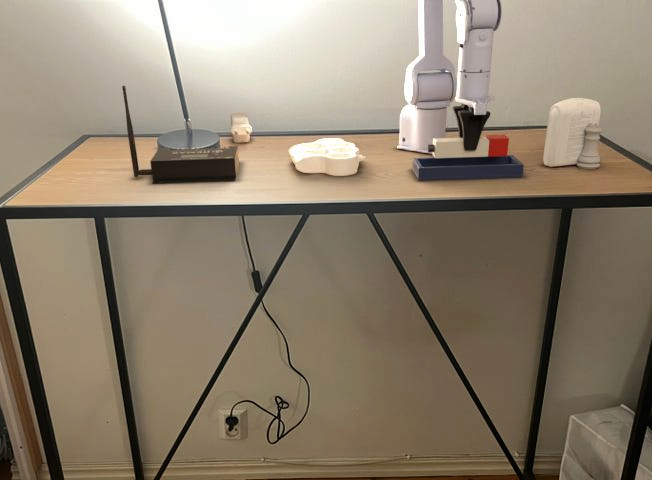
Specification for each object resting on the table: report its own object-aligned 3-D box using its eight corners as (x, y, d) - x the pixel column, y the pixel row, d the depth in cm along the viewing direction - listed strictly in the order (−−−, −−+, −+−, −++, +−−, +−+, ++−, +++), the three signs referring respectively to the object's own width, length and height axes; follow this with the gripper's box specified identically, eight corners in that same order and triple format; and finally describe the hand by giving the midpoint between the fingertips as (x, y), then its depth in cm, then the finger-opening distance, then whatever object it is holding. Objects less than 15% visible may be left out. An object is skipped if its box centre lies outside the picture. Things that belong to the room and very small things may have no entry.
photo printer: (582, 158, 146) (592, 94, 140) (596, 163, 142) (606, 97, 136) (538, 164, 143) (546, 98, 137) (551, 168, 139) (560, 102, 133)
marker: (428, 158, 135) (429, 140, 133) (425, 154, 137) (426, 136, 136) (507, 156, 135) (509, 138, 133) (502, 152, 138) (504, 134, 136)
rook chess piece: (603, 166, 140) (610, 123, 137) (594, 171, 137) (602, 128, 134) (581, 162, 143) (587, 121, 139) (572, 167, 140) (578, 125, 136)
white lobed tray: (287, 156, 153) (354, 152, 155) (298, 179, 137) (373, 174, 139) (286, 140, 151) (354, 136, 153) (297, 161, 136) (373, 156, 138)
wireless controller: (239, 162, 149) (233, 74, 141) (235, 181, 137) (228, 85, 129) (143, 166, 149) (130, 78, 140) (130, 184, 137) (115, 89, 128)
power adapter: (254, 148, 161) (252, 120, 158) (232, 149, 160) (230, 122, 157) (250, 137, 170) (248, 111, 167) (229, 138, 170) (227, 112, 167)
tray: (418, 181, 134) (418, 168, 133) (412, 170, 141) (412, 158, 140) (522, 177, 135) (524, 164, 134) (511, 167, 141) (512, 154, 140)
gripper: (506, 75, 123) (499, 156, 129) (486, 64, 135) (480, 138, 142) (465, 77, 122) (460, 157, 129) (449, 65, 135) (444, 139, 142)
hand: (468, 147), depth 135 cm, fingers closed on marker, 3 cm apart
